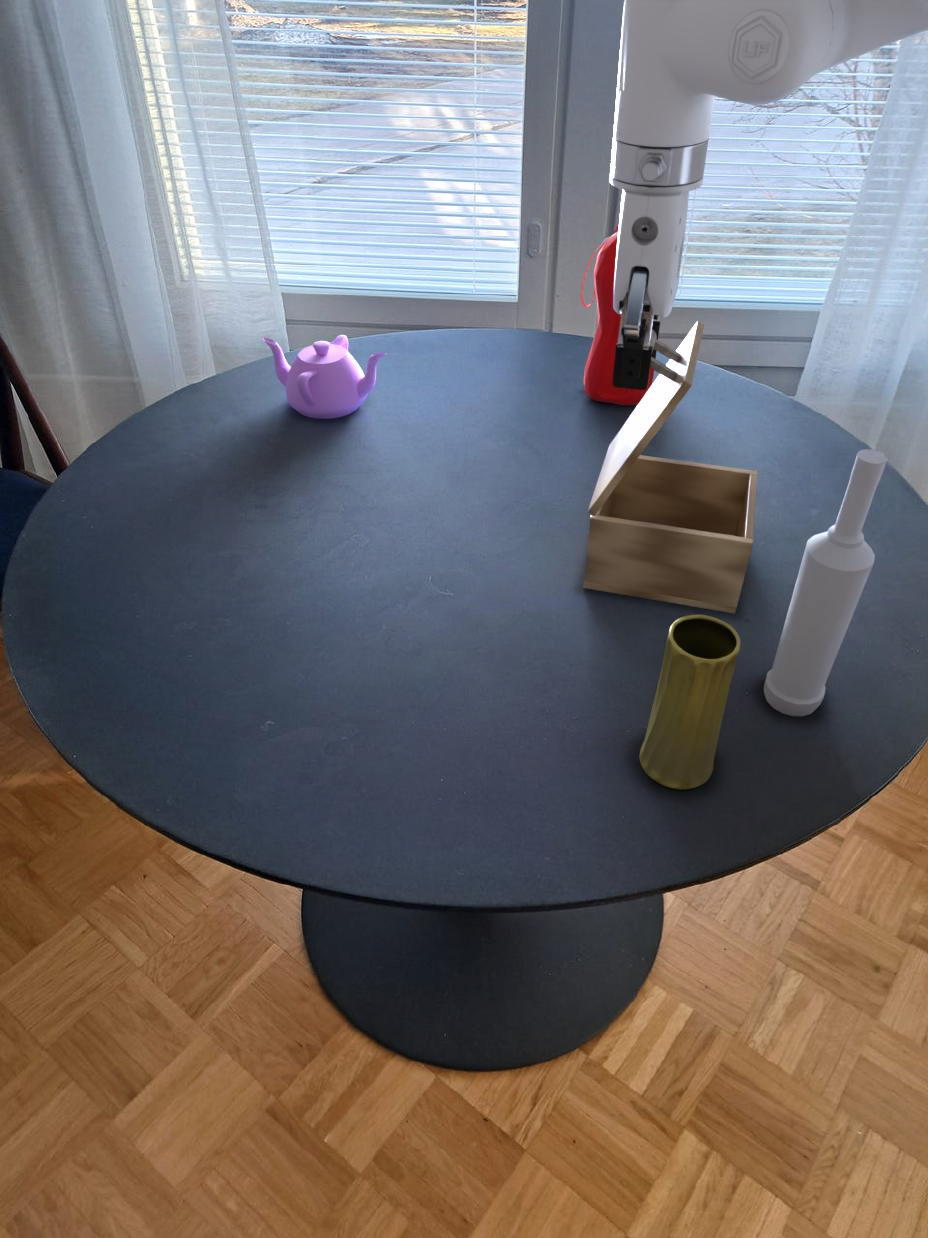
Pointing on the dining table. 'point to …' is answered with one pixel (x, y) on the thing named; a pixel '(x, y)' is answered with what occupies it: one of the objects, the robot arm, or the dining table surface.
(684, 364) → the lid
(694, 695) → the vase
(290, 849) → the dining table surface
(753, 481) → the box
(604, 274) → the water bottle
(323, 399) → the teapot
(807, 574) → the bottle
